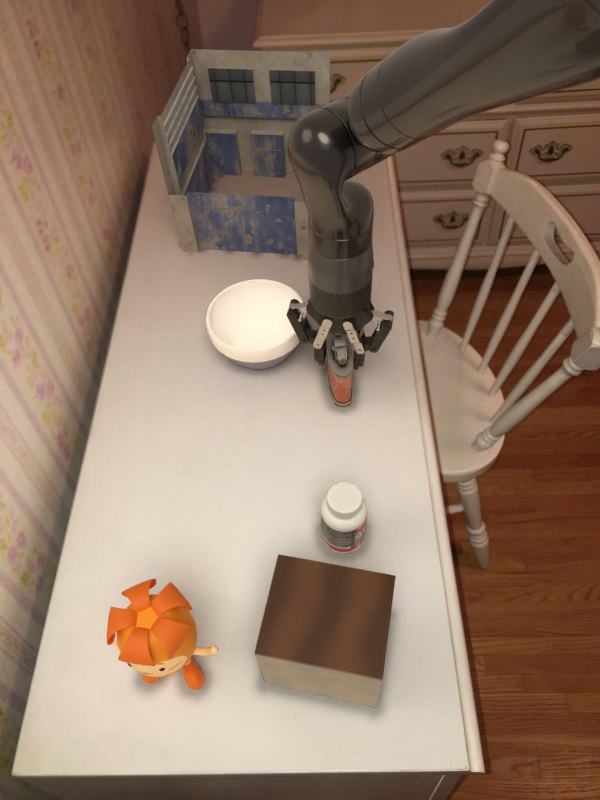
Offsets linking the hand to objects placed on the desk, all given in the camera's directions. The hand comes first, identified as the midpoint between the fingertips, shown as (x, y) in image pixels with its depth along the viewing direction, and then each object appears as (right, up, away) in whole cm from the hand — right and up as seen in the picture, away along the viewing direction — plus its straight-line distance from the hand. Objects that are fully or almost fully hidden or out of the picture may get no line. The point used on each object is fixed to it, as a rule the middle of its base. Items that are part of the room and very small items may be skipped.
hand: (339, 362), depth 89 cm
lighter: (0, -3, +4) cm, 5 cm away
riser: (-2, -33, -17) cm, 37 cm away
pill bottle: (0, -22, -9) cm, 24 cm away
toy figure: (-19, -34, -17) cm, 43 cm away
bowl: (-11, +3, +9) cm, 15 cm away
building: (-13, +29, +29) cm, 43 cm away
